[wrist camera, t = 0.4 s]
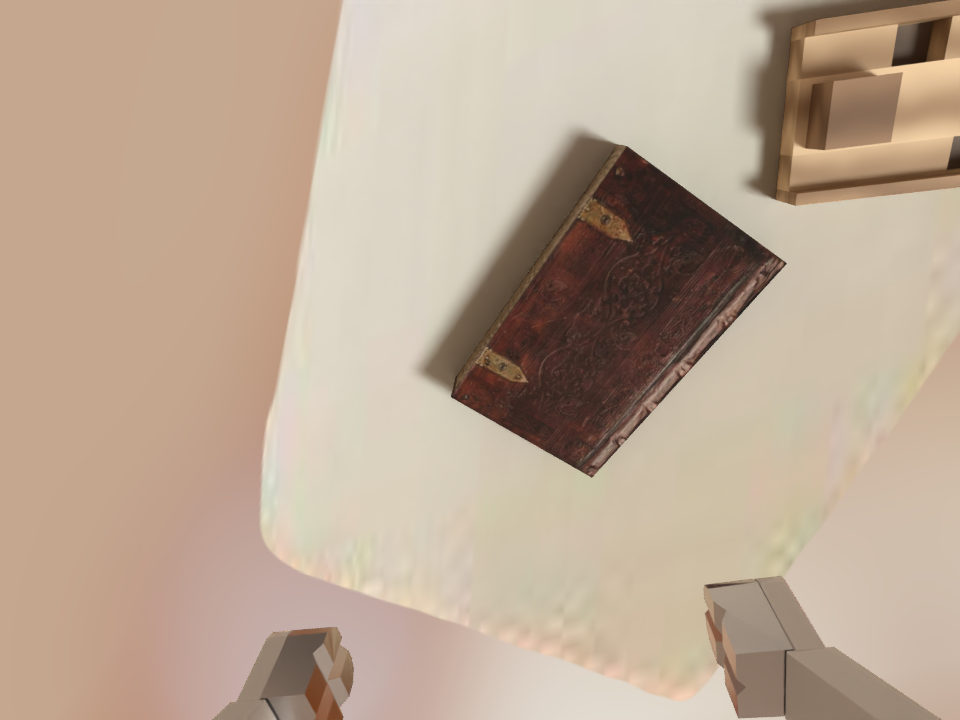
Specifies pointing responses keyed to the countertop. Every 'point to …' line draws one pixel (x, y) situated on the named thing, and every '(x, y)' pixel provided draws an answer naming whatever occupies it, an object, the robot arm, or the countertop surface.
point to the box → (919, 116)
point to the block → (853, 112)
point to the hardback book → (613, 314)
